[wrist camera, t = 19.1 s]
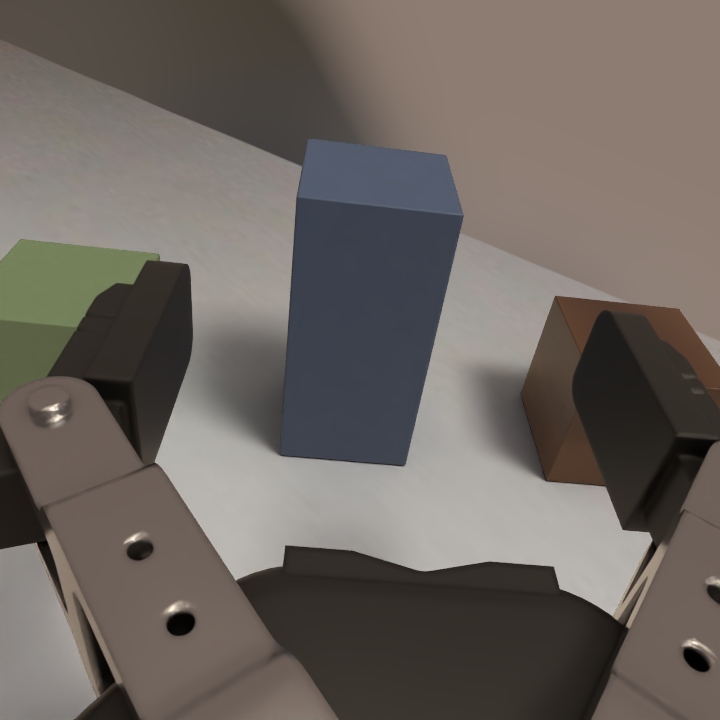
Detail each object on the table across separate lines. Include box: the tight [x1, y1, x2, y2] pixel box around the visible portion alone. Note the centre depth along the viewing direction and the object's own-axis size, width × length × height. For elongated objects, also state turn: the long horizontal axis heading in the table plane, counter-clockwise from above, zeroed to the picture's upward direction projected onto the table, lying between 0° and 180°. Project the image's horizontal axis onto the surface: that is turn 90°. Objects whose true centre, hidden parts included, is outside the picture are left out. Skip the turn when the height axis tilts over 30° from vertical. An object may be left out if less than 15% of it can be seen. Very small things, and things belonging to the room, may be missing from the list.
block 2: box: [521, 296, 720, 486], centre depth 25 cm, size 5×5×5 cm
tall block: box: [280, 139, 464, 465], centre depth 23 cm, size 5×5×10 cm
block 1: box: [0, 239, 160, 404], centre depth 23 cm, size 5×5×5 cm
